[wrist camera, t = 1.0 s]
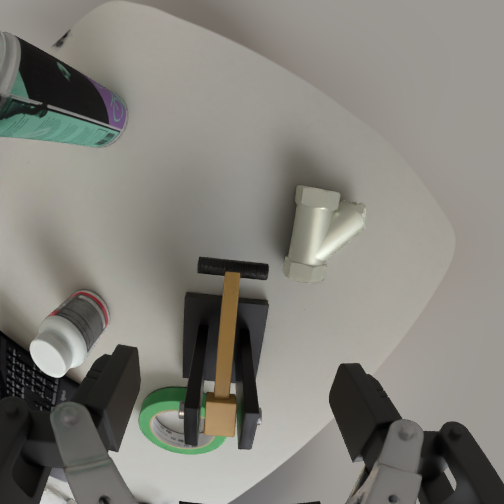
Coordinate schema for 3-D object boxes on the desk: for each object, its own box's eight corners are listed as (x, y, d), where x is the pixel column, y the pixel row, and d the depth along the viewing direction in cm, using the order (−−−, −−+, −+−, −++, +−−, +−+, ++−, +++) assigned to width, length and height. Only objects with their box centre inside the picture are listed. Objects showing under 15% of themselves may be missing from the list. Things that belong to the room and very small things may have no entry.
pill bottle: (75, 280, 27) (25, 320, 18) (116, 303, 28) (77, 354, 19) (66, 318, 28) (23, 364, 19) (104, 340, 29) (69, 394, 20)
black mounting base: (186, 291, 28) (158, 372, 16) (267, 300, 29) (290, 383, 17) (184, 371, 31) (166, 460, 18) (254, 377, 31) (264, 467, 19)
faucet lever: (200, 258, 22) (198, 253, 20) (265, 266, 23) (270, 261, 20) (187, 420, 20) (184, 432, 18) (250, 425, 20) (253, 438, 18)
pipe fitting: (358, 196, 27) (293, 184, 26) (378, 200, 23) (307, 186, 22) (342, 273, 29) (280, 268, 28) (359, 287, 25) (290, 283, 24)
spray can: (138, 104, 23) (-6, 12, 4) (112, 156, 24) (-64, 148, 5) (95, 87, 22) (-50, 15, 3) (71, 136, 23) (-94, 121, 4)
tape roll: (242, 407, 33) (243, 422, 30) (204, 449, 35) (203, 463, 32) (159, 372, 31) (155, 387, 28) (132, 421, 33) (128, 434, 30)
